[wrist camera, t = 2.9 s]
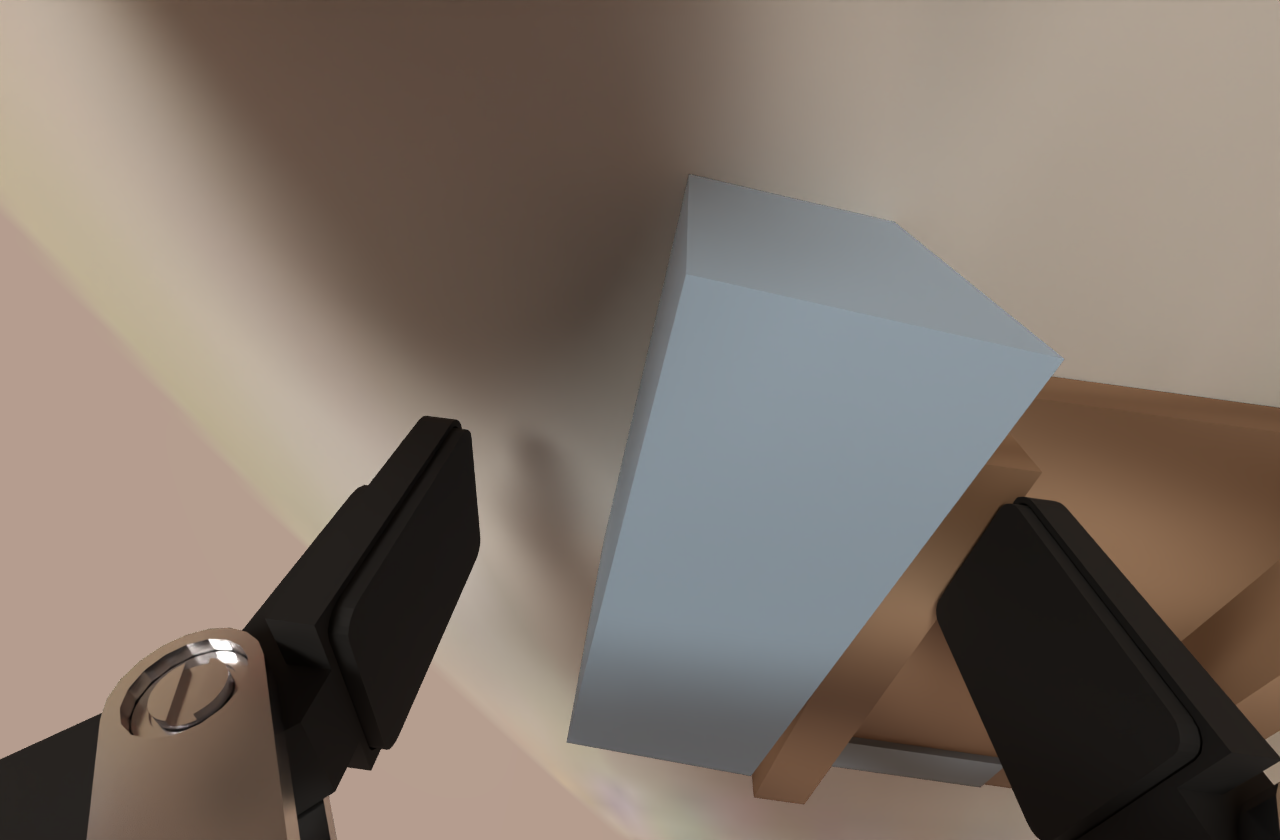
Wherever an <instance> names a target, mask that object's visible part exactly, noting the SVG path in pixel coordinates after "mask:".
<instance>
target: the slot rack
mask: <svg viewBox="0 0 1280 840" xmlns="http://www.w3.org/2000/svg"><path fill="white" fill-rule="evenodd" d="M1017 497H1030V498H1037V499H1044V500H1052V501H1057V502H1059V503H1062V504H1063V505H1064V506H1065V507H1066V508H1067V509H1068V510H1069V511H1070V512H1071V514H1072V515H1073V516H1074V517H1075V518H1076V519H1077V521H1078V522H1079V523H1080V524H1081V525H1082V526H1083V528H1084V529H1085V530H1086V531H1087V532H1088V533H1089V535H1090V536H1091V537H1092V538H1093V539H1094V540H1095V542H1096V543H1097V544H1098V545H1099V546H1100V547H1101V549H1102V550H1103V551H1104V552H1105V553H1106V554H1107V556H1108V557H1109V558H1110V559H1111V560H1112V561H1113V563H1114V564H1115V565H1116V566H1117V567H1118V568H1119V570H1120V571H1121V572H1122V573H1123V574H1124V575H1125V577H1126V578H1127V579H1128V580H1129V581H1130V582H1131V584H1132V585H1133V586H1134V587H1135V588H1136V589H1137V591H1138V592H1139V593H1140V594H1141V595H1142V596H1143V598H1144V599H1145V600H1146V601H1147V602H1148V603H1149V605H1150V606H1151V607H1152V608H1153V609H1154V610H1155V612H1156V613H1157V614H1158V615H1159V616H1160V617H1161V619H1162V620H1163V621H1164V622H1165V623H1166V624H1167V626H1168V627H1169V628H1170V629H1171V630H1172V631H1173V633H1174V634H1175V635H1176V636H1177V637H1178V638H1179V640H1180V641H1181V642H1182V643H1183V644H1184V645H1185V647H1186V648H1187V649H1188V650H1189V651H1190V652H1191V654H1192V655H1193V656H1194V657H1195V658H1196V660H1197V661H1198V662H1199V663H1200V664H1201V665H1202V667H1203V668H1204V669H1205V670H1206V671H1207V672H1208V674H1209V675H1210V676H1211V677H1212V678H1213V679H1214V681H1215V682H1216V683H1217V684H1218V685H1219V686H1220V688H1221V689H1222V690H1223V691H1224V692H1225V693H1226V695H1227V696H1228V697H1229V698H1230V699H1231V700H1232V702H1233V703H1234V704H1235V705H1236V706H1237V707H1238V709H1239V710H1240V711H1241V712H1242V713H1243V714H1244V716H1245V717H1246V718H1247V719H1248V720H1249V721H1250V723H1251V724H1252V725H1253V726H1254V727H1255V728H1256V730H1257V731H1258V732H1259V733H1260V734H1261V735H1262V737H1263V738H1264V739H1267V738H1268V737H1270V736H1272V735H1274V734H1275V733H1277V732H1279V731H1280V408H1276V407H1269V406H1261V405H1254V404H1247V403H1239V402H1232V401H1225V400H1218V399H1210V398H1203V397H1196V396H1189V395H1181V394H1174V393H1167V392H1160V391H1152V390H1145V389H1138V388H1130V387H1123V386H1116V385H1109V384H1101V383H1094V382H1087V381H1080V380H1072V379H1065V378H1058V377H1050V379H1049V380H1048V381H1047V383H1046V384H1045V385H1044V387H1043V388H1042V389H1041V391H1040V392H1039V393H1038V395H1037V396H1036V397H1035V399H1034V400H1033V401H1032V403H1031V404H1030V405H1029V407H1028V408H1027V409H1026V411H1025V412H1024V413H1023V415H1022V416H1021V417H1020V419H1019V420H1018V421H1017V423H1016V424H1015V425H1014V427H1013V428H1012V429H1011V431H1010V432H1009V433H1008V435H1007V436H1006V437H1005V439H1004V440H1003V441H1002V443H1001V444H1000V445H999V447H998V448H997V449H996V451H995V452H994V453H993V455H992V456H991V457H990V459H989V460H988V461H987V463H986V464H985V465H984V467H983V468H982V469H981V471H980V472H979V473H978V475H977V476H976V477H975V479H974V480H973V481H972V483H971V484H970V485H969V487H968V488H967V489H966V491H965V492H964V493H963V495H962V496H961V497H960V499H959V500H958V501H957V503H956V504H955V505H954V506H953V508H952V509H951V510H950V512H949V513H948V514H947V516H946V517H945V518H944V520H943V521H942V522H941V524H940V525H939V526H938V528H937V529H936V530H935V532H934V533H933V534H932V536H931V537H930V538H929V540H928V541H927V542H926V544H925V545H924V546H923V548H922V549H921V550H920V552H919V553H918V554H917V556H916V557H915V558H914V560H913V561H912V562H911V564H910V565H909V566H908V568H907V569H906V570H905V572H904V573H903V574H902V576H901V577H900V578H899V580H898V581H897V582H896V584H895V585H894V586H893V588H892V589H891V590H890V592H889V593H888V594H887V596H886V597H885V598H884V600H883V601H882V602H881V604H880V605H879V606H878V608H877V609H876V610H875V612H874V613H873V614H872V616H871V617H870V618H869V620H868V621H867V622H866V624H865V625H864V626H863V628H862V629H861V630H860V632H859V633H858V634H857V636H856V637H855V638H854V640H853V641H852V642H851V644H850V645H849V646H848V648H847V649H846V650H845V651H844V653H843V654H842V655H841V657H840V658H839V659H838V661H837V662H836V663H835V665H834V666H833V667H832V669H831V670H830V671H829V673H828V674H827V675H826V677H825V678H824V679H823V681H822V682H821V683H820V685H819V686H818V687H817V689H816V690H815V691H814V693H813V694H812V695H811V697H810V698H809V699H808V701H807V702H806V703H805V705H804V706H803V707H802V709H801V710H800V711H799V713H798V714H797V715H796V717H795V718H794V719H793V721H792V722H791V723H790V725H789V726H788V727H787V729H786V730H785V731H784V733H783V734H782V735H781V737H780V738H779V739H778V741H777V742H776V743H775V745H774V746H773V747H772V749H771V750H770V751H769V753H768V754H767V755H766V757H765V758H764V759H763V761H762V762H761V763H760V765H759V766H758V767H757V769H756V770H755V771H754V773H753V774H752V780H753V792H754V797H755V798H762V799H769V800H777V801H784V802H791V803H798V804H805V802H806V801H807V800H808V798H809V797H810V795H811V794H812V793H813V791H814V790H815V788H816V787H817V786H818V784H819V783H820V781H821V780H822V779H823V777H824V776H825V774H826V773H827V772H828V770H829V769H830V768H831V766H833V767H840V768H847V769H854V770H861V771H868V772H875V773H883V774H890V775H897V776H904V777H911V778H918V779H925V780H932V781H939V782H946V783H953V784H960V785H967V786H974V787H982V786H983V785H984V784H985V785H993V786H1000V787H1007V788H1012V787H1011V785H1010V783H1009V781H1008V778H1007V776H1006V774H1005V772H1004V769H1003V767H1002V765H1001V763H1000V760H999V758H998V756H997V754H996V751H995V749H994V747H993V745H992V743H991V740H990V738H989V736H988V734H987V731H986V729H985V727H984V725H983V722H982V720H981V718H980V716H979V713H978V711H977V709H976V707H975V704H974V702H973V700H972V698H971V695H970V693H969V691H968V689H967V687H966V684H965V682H964V680H963V678H962V675H961V673H960V671H959V669H958V666H957V664H956V662H955V660H954V657H953V655H952V653H951V651H950V648H949V646H948V644H947V642H946V639H945V637H944V635H943V633H942V630H941V628H940V626H939V624H938V621H937V617H936V607H937V603H938V601H939V599H940V598H941V596H942V595H943V593H944V592H945V590H946V589H947V587H948V586H949V584H950V583H951V581H952V580H953V578H954V577H955V575H956V574H957V572H958V571H959V569H960V568H961V566H962V565H963V563H964V562H965V560H966V559H967V557H968V556H969V554H970V553H971V551H972V550H973V548H974V547H975V545H976V544H977V542H978V541H979V539H980V538H981V536H982V535H983V533H984V532H985V530H986V529H987V527H988V526H989V524H990V523H991V521H992V520H993V518H994V517H995V515H996V514H997V512H998V511H999V509H1000V508H1001V507H1002V506H1003V505H1005V504H1010V503H1011V504H1013V502H1014V501H1015V499H1016V498H1017Z"/></svg>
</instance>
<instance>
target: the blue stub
mask: <svg viewBox="0 0 1280 840" xmlns="http://www.w3.org/2000/svg"><path fill="white" fill-rule="evenodd" d="M1063 360H1064V358H1063V357H1061V356H1060V355H1059V354H1058V353H1056V352H1055V351H1054V350H1053V349H1051V348H1050V347H1049V346H1048V345H1046V344H1045V343H1044V342H1043V341H1041V340H1040V339H1039V338H1038V337H1036V336H1035V335H1034V334H1033V333H1032V332H1030V331H1029V330H1028V329H1027V328H1025V327H1024V326H1023V325H1022V324H1020V323H1019V322H1018V321H1017V320H1015V319H1014V318H1013V317H1012V316H1010V315H1009V314H1008V313H1007V312H1005V311H1004V310H1003V309H1002V308H1001V307H999V306H998V305H997V304H996V303H994V302H993V301H992V300H991V299H989V298H988V297H987V296H986V295H984V294H983V293H982V292H981V291H979V290H978V289H977V288H976V287H974V286H973V285H972V284H971V283H970V282H968V281H967V280H966V279H965V278H963V277H962V276H961V275H960V274H958V273H957V272H956V271H955V270H953V269H952V268H951V267H950V266H948V265H947V264H946V263H945V262H943V261H942V260H941V259H940V258H939V257H937V256H936V255H935V254H934V253H932V252H931V251H930V250H929V249H927V248H926V247H925V246H924V245H922V244H921V243H920V242H919V241H917V240H916V239H915V238H914V237H912V236H911V235H910V234H909V233H908V232H906V231H905V230H904V229H903V228H901V227H900V226H899V225H898V224H896V223H895V222H893V221H888V220H884V219H880V218H875V217H871V216H867V215H863V214H858V213H854V212H850V211H845V210H841V209H837V208H833V207H828V206H824V205H820V204H815V203H811V202H807V201H803V200H798V199H794V198H790V197H785V196H781V195H777V194H773V193H768V192H764V191H760V190H755V189H751V188H747V187H743V186H738V185H734V184H730V183H725V182H721V181H717V180H713V179H708V178H704V177H700V176H695V175H691V174H689V177H688V181H687V185H686V190H685V194H684V198H683V202H682V207H681V211H680V215H679V220H678V224H677V228H676V233H675V237H674V241H673V245H672V250H671V254H670V258H669V263H668V267H667V271H666V276H665V280H664V284H663V288H662V293H661V297H660V301H659V306H658V310H657V314H656V319H655V323H654V327H653V332H652V336H651V340H650V344H649V349H648V353H647V357H646V362H645V366H644V370H643V375H642V379H641V383H640V387H639V392H638V396H637V400H636V405H635V409H634V413H633V418H632V422H631V426H630V430H629V435H628V439H627V443H626V448H625V452H624V456H623V461H622V465H621V469H620V474H619V478H618V482H617V486H616V491H615V495H614V499H613V504H612V508H611V512H610V517H609V521H608V525H607V529H606V534H605V538H604V542H603V548H602V553H601V559H600V564H599V569H598V575H597V580H596V586H595V591H594V597H593V602H592V607H591V613H590V618H589V624H588V629H587V635H586V640H585V645H584V651H583V656H582V662H581V667H580V673H579V678H578V683H577V689H576V694H575V700H574V705H573V711H572V716H571V721H570V727H569V732H568V738H567V743H573V744H578V745H584V746H589V747H594V748H600V749H605V750H611V751H616V752H622V753H627V754H633V755H638V756H644V757H649V758H655V759H660V760H666V761H671V762H677V763H682V764H688V765H693V766H699V767H704V768H710V769H715V770H720V771H726V772H731V773H737V774H742V775H748V776H751V775H752V774H753V773H754V771H755V770H756V769H757V767H758V766H759V765H760V763H761V762H762V761H763V759H764V758H765V757H766V755H767V754H768V753H769V751H770V750H771V749H772V747H773V746H774V745H775V743H776V742H777V741H778V739H779V738H780V737H781V735H782V734H783V733H784V731H785V730H786V729H787V727H788V726H789V725H790V723H791V722H792V721H793V719H794V718H795V717H796V715H797V714H798V713H799V711H800V710H801V709H802V707H803V706H804V705H805V703H806V702H807V701H808V699H809V698H810V697H811V695H812V694H813V693H814V691H815V690H816V689H817V687H818V686H819V685H820V683H821V682H822V681H823V679H824V678H825V677H826V675H827V674H828V673H829V671H830V670H831V669H832V667H833V666H834V665H835V663H836V662H837V661H838V659H839V658H840V657H841V655H842V654H843V653H844V651H845V650H846V649H847V648H848V646H849V645H850V644H851V642H852V641H853V640H854V638H855V637H856V636H857V634H858V633H859V632H860V630H861V629H862V628H863V626H864V625H865V624H866V622H867V621H868V620H869V618H870V617H871V616H872V614H873V613H874V612H875V610H876V609H877V608H878V606H879V605H880V604H881V602H882V601H883V600H884V598H885V597H886V596H887V594H888V593H889V592H890V590H891V589H892V588H893V586H894V585H895V584H896V582H897V581H898V580H899V578H900V577H901V576H902V574H903V573H904V572H905V570H906V569H907V568H908V566H909V565H910V564H911V562H912V561H913V560H914V558H915V557H916V556H917V554H918V553H919V552H920V550H921V549H922V548H923V546H924V545H925V544H926V542H927V541H928V540H929V538H930V537H931V536H932V534H933V533H934V532H935V530H936V529H937V528H938V526H939V525H940V524H941V522H942V521H943V520H944V518H945V517H946V516H947V514H948V513H949V512H950V510H951V509H952V508H953V506H954V505H955V504H956V503H957V501H958V500H959V499H960V497H961V496H962V495H963V493H964V492H965V491H966V489H967V488H968V487H969V485H970V484H971V483H972V481H973V480H974V479H975V477H976V476H977V475H978V473H979V472H980V471H981V469H982V468H983V467H984V465H985V464H986V463H987V461H988V460H989V459H990V457H991V456H992V455H993V453H994V452H995V451H996V449H997V448H998V447H999V445H1000V444H1001V443H1002V441H1003V440H1004V439H1005V437H1006V436H1007V435H1008V433H1009V432H1010V431H1011V429H1012V428H1013V427H1014V425H1015V424H1016V423H1017V421H1018V420H1019V419H1020V417H1021V416H1022V415H1023V413H1024V412H1025V411H1026V409H1027V408H1028V407H1029V405H1030V404H1031V403H1032V401H1033V400H1034V399H1035V397H1036V396H1037V395H1038V393H1039V392H1040V391H1041V389H1042V388H1043V387H1044V385H1045V384H1046V383H1047V381H1048V380H1049V379H1050V377H1051V376H1052V375H1053V373H1054V372H1055V371H1056V369H1057V368H1058V367H1059V365H1060V364H1061V363H1062V362H1063Z"/></svg>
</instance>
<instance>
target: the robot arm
mask: <svg viewBox="0 0 1280 840" xmlns="http://www.w3.org/2000/svg"><path fill="white" fill-rule="evenodd" d="M479 547H480V529H479V517H478V506H477V495H476V484H475V472H474V461H473V450H472V438H471V433H470V431H469V430H465V429H462V427H461V424H460V422H459V421H458V420H454V419H446V418H439V417H432V416H423V417H422V418H421V419H420V420H419V421H418V422H417V423H416V425H415V426H414V427H413V429H412V430H411V431H410V432H409V434H408V435H407V436H406V438H405V439H404V440H403V441H402V443H401V444H400V445H399V447H398V448H397V449H396V450H395V452H394V453H393V454H392V456H391V457H390V458H389V459H388V461H387V462H386V463H385V465H384V466H383V467H382V468H381V470H380V471H379V472H378V474H377V475H376V476H375V477H374V479H373V480H372V481H371V483H370V484H369V485H363V486H361V487H359V488H357V489H356V490H355V491H354V492H353V493H352V494H351V495H350V497H349V498H348V499H347V500H346V502H345V503H344V504H343V505H342V507H341V508H340V509H339V510H338V512H337V513H336V514H335V515H334V517H333V518H332V519H331V520H330V522H329V523H328V524H327V525H326V527H325V528H324V529H323V530H322V531H321V533H320V534H319V535H318V536H317V538H316V539H315V540H314V541H313V543H312V544H311V545H310V546H309V548H308V549H307V550H306V551H305V553H304V554H303V555H302V556H301V558H300V559H299V560H298V561H297V563H296V564H295V565H294V567H293V568H292V569H291V570H290V571H289V573H288V574H287V575H286V576H285V578H284V579H283V580H282V581H281V583H280V584H279V585H278V586H277V588H276V589H275V590H274V592H273V593H272V594H271V595H270V596H269V598H268V599H267V600H266V601H265V603H264V604H263V605H262V606H261V608H260V609H259V610H258V611H257V613H256V614H255V615H254V616H253V618H252V619H251V620H250V621H249V623H248V624H247V625H246V627H245V628H244V629H243V630H242V631H241V630H237V629H233V628H215V629H207V630H203V631H200V632H195V633H192V634H188V635H185V636H183V637H181V638H179V639H176V640H174V641H172V642H170V643H168V644H166V645H163V646H162V647H160V648H159V649H157V650H156V651H154V652H153V653H151V654H150V655H148V656H147V657H145V658H144V659H143V660H141V661H139V662H138V663H137V664H136V665H135V666H134V667H133V668H132V669H131V670H130V671H129V672H128V673H127V674H126V675H125V676H124V677H123V678H121V679H120V681H119V682H118V684H117V686H116V687H115V688H114V690H113V691H112V693H111V694H110V695H109V697H108V698H107V700H106V703H105V706H104V709H103V712H102V713H101V714H99V715H97V716H94V717H92V718H90V719H88V720H85V721H83V722H81V723H79V724H77V725H75V726H73V727H70V728H68V729H66V730H64V731H61V732H59V733H57V734H55V735H53V736H51V737H48V738H46V739H44V740H42V741H40V742H37V743H35V744H33V745H31V746H29V747H26V748H24V749H22V750H20V751H18V752H16V753H13V754H11V755H9V756H7V757H5V758H2V759H0V840H337V837H336V832H335V826H334V821H333V815H332V810H331V805H330V800H329V795H330V794H332V793H333V792H335V791H336V789H337V787H338V785H339V782H340V781H341V779H342V776H343V774H344V772H345V770H346V768H347V767H350V768H357V769H364V770H372V767H373V765H374V763H375V761H376V758H377V756H378V754H379V752H380V750H381V749H386V750H387V749H390V748H391V747H392V746H393V745H394V743H395V742H396V740H397V738H398V736H399V734H400V732H401V729H402V727H403V725H404V722H405V720H406V718H407V716H408V713H409V711H410V709H411V706H412V704H413V702H414V700H415V697H416V695H417V693H418V691H419V688H420V686H421V684H422V681H423V679H424V677H425V675H426V672H427V670H428V668H429V666H430V663H431V661H432V659H433V656H434V654H435V652H436V650H437V647H438V645H439V643H440V640H441V638H442V636H443V634H444V631H445V629H446V627H447V625H448V622H449V620H450V618H451V615H452V613H453V611H454V609H455V606H456V604H457V602H458V600H459V597H460V595H461V593H462V590H463V588H464V586H465V584H466V581H467V579H468V577H469V575H470V572H471V570H472V568H473V565H474V563H475V561H476V558H477V556H478V552H479ZM936 617H937V621H938V624H939V626H940V628H941V630H942V633H943V635H944V637H945V639H946V642H947V644H948V646H949V648H950V651H951V653H952V655H953V657H954V660H955V662H956V664H957V666H958V669H959V671H960V673H961V675H962V678H963V680H964V682H965V684H966V687H967V689H968V691H969V693H970V695H971V698H972V700H973V702H974V704H975V707H976V709H977V711H978V713H979V716H980V718H981V720H982V722H983V725H984V727H985V729H986V731H987V734H988V736H989V738H990V740H991V743H992V745H993V747H994V749H995V751H996V754H997V756H998V758H999V760H1000V763H1001V765H1002V767H1003V769H1004V772H1005V774H1006V776H1007V778H1008V781H1009V783H1010V785H1011V787H1012V790H1013V792H1014V794H1015V796H1016V799H1017V801H1018V803H1019V805H1020V807H1021V810H1022V812H1023V814H1024V816H1025V819H1026V821H1027V823H1028V825H1029V827H1030V829H1031V830H1032V832H1033V833H1034V834H1035V835H1036V837H1037V838H1039V839H1040V840H1280V782H1278V783H1276V784H1275V785H1274V784H1273V783H1272V782H1271V781H1270V780H1269V778H1268V777H1267V776H1266V775H1265V773H1264V772H1263V771H1264V770H1266V769H1268V768H1269V767H1271V766H1273V765H1274V764H1276V763H1278V762H1279V761H1280V756H1279V755H1278V754H1277V753H1276V752H1275V751H1274V749H1273V748H1272V747H1271V746H1270V745H1269V744H1268V742H1267V741H1266V740H1265V739H1264V738H1263V737H1262V735H1261V734H1260V733H1259V732H1258V731H1257V730H1256V728H1255V727H1254V726H1253V725H1252V724H1251V723H1250V721H1249V720H1248V719H1247V718H1246V717H1245V716H1244V714H1243V713H1242V712H1241V711H1240V710H1239V709H1238V707H1237V706H1236V705H1235V704H1234V703H1233V702H1232V700H1231V699H1230V698H1229V697H1228V696H1227V695H1226V693H1225V692H1224V691H1223V690H1222V689H1221V688H1220V686H1219V685H1218V684H1217V683H1216V682H1215V681H1214V679H1213V678H1212V677H1211V676H1210V675H1209V674H1208V672H1207V671H1206V670H1205V669H1204V668H1203V667H1202V665H1201V664H1200V663H1199V662H1198V661H1197V660H1196V658H1195V657H1194V656H1193V655H1192V654H1191V652H1190V651H1189V650H1188V649H1187V648H1186V647H1185V645H1184V644H1183V643H1182V642H1181V641H1180V640H1179V638H1178V637H1177V636H1176V635H1175V634H1174V633H1173V631H1172V630H1171V629H1170V628H1169V627H1168V626H1167V624H1166V623H1165V622H1164V621H1163V620H1162V619H1161V617H1160V616H1159V615H1158V614H1157V613H1156V612H1155V610H1154V609H1153V608H1152V607H1151V606H1150V605H1149V603H1148V602H1147V601H1146V600H1145V599H1144V598H1143V596H1142V595H1141V594H1140V593H1139V592H1138V591H1137V589H1136V588H1135V587H1134V586H1133V585H1132V584H1131V582H1130V581H1129V580H1128V579H1127V578H1126V577H1125V575H1124V574H1123V573H1122V572H1121V571H1120V570H1119V568H1118V567H1117V566H1116V565H1115V564H1114V563H1113V561H1112V560H1111V559H1110V558H1109V557H1108V556H1107V554H1106V553H1105V552H1104V551H1103V550H1102V549H1101V547H1100V546H1099V545H1098V544H1097V543H1096V542H1095V540H1094V539H1093V538H1092V537H1091V536H1090V535H1089V533H1088V532H1087V531H1086V530H1085V529H1084V528H1083V526H1082V525H1081V524H1080V523H1079V522H1078V521H1077V519H1076V518H1075V517H1074V516H1073V515H1072V514H1071V512H1070V511H1069V510H1068V509H1067V508H1066V507H1065V506H1064V505H1063V504H1062V503H1059V502H1057V501H1052V500H1044V499H1037V498H1030V497H1017V498H1016V499H1015V501H1014V502H1013V504H1011V503H1010V504H1005V505H1003V506H1002V507H1001V508H1000V509H999V511H998V512H997V514H996V515H995V517H994V518H993V520H992V521H991V523H990V524H989V526H988V527H987V529H986V530H985V532H984V533H983V535H982V536H981V538H980V539H979V541H978V542H977V544H976V545H975V547H974V548H973V550H972V551H971V553H970V554H969V556H968V557H967V559H966V560H965V562H964V563H963V565H962V566H961V568H960V569H959V571H958V572H957V574H956V575H955V577H954V578H953V580H952V581H951V583H950V584H949V586H948V587H947V589H946V590H945V592H944V593H943V595H942V596H941V598H940V599H939V601H938V603H937V607H936Z"/></svg>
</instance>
